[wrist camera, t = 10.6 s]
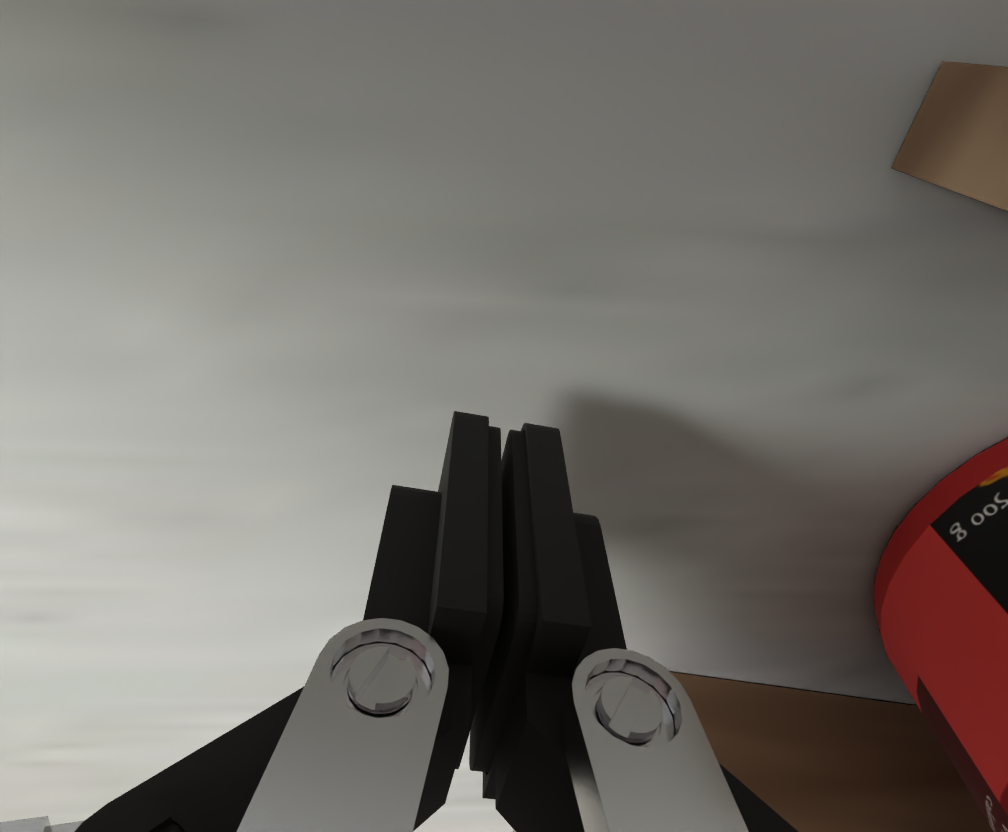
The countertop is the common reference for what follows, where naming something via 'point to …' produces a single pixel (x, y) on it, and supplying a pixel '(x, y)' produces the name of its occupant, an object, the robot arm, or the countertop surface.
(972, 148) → the walnut holder
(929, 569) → the canned food
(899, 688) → the countertop surface
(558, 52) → the countertop surface
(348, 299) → the countertop surface
